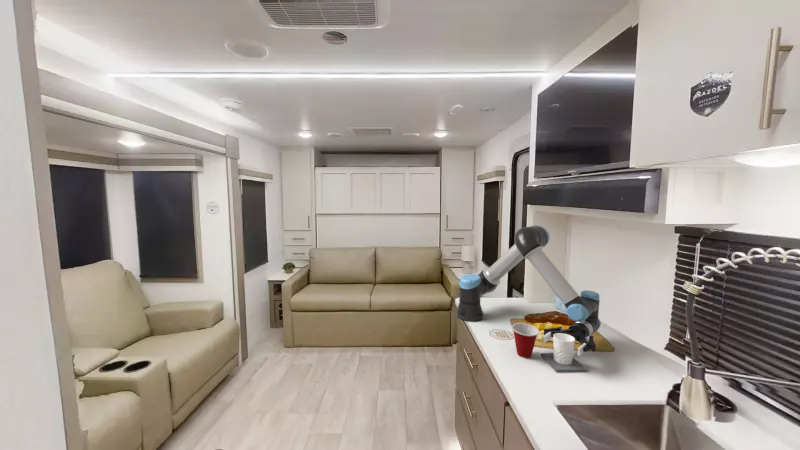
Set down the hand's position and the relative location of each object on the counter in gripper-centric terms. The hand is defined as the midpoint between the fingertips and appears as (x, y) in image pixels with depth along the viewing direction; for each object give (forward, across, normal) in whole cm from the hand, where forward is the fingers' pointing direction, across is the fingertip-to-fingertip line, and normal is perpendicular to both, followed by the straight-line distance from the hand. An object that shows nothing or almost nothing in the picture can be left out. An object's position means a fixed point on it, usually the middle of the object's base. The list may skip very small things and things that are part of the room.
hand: (560, 345), depth 125 cm
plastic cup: (+2, -14, +9) cm, 16 cm away
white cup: (-3, 0, +8) cm, 8 cm away
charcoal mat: (-3, 0, +8) cm, 9 cm away
